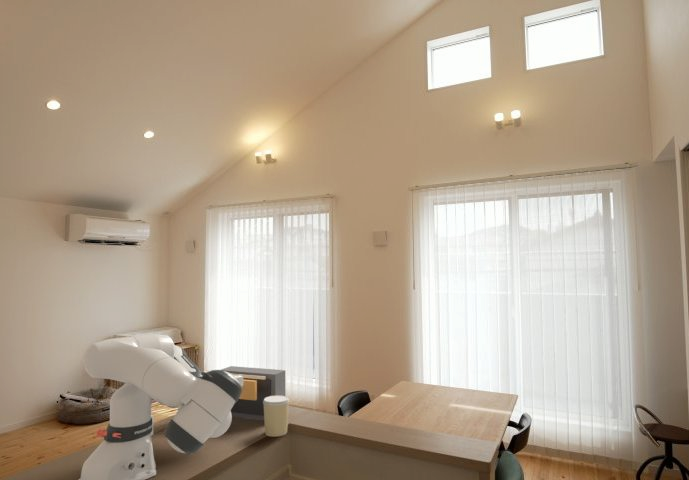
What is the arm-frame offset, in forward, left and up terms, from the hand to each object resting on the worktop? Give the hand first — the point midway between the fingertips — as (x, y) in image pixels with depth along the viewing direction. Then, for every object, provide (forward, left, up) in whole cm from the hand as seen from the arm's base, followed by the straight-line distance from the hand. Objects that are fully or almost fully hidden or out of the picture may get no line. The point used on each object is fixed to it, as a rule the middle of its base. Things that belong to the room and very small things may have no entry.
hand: (229, 375), depth 168 cm
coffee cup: (+3, -18, -20) cm, 27 cm away
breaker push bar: (+7, +1, -10) cm, 12 cm away
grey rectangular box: (+17, +1, -20) cm, 26 cm away
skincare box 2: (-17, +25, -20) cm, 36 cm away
